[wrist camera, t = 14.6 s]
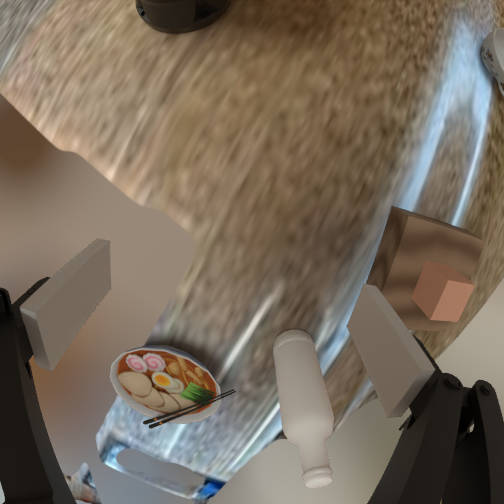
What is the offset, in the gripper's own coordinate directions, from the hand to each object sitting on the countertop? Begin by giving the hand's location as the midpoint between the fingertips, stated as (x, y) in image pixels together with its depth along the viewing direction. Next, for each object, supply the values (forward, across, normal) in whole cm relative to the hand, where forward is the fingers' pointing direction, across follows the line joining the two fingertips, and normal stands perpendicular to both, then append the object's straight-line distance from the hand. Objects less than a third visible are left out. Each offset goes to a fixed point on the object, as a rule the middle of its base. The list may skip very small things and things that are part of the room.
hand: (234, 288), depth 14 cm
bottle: (+32, +15, -28) cm, 45 cm away
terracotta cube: (+26, +35, -8) cm, 44 cm away
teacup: (+32, +43, +38) cm, 66 cm away
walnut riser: (+32, +35, -8) cm, 48 cm away
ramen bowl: (+32, -8, -39) cm, 51 cm away
